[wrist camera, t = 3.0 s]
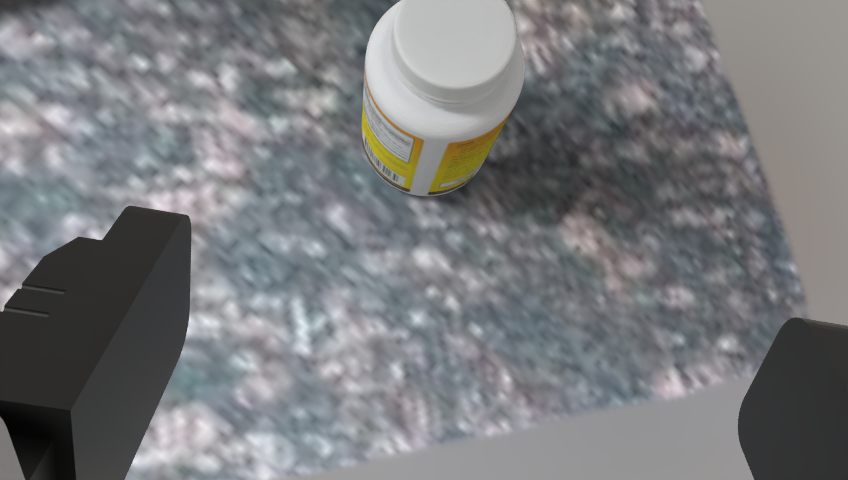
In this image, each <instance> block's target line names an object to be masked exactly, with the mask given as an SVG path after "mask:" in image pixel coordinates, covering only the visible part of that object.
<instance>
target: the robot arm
mask: <svg viewBox="0 0 848 480" xmlns="http://www.w3.org/2000/svg"><path fill="white" fill-rule="evenodd" d="M190 268H191V222H190V218H189V216H188V215H184V214H178V213H172V212H166V211H160V210H154V209H148V208H142V207H136V206H128V207H126V208H125V209H124V210H123V212H122V213H121V215H120V216H119V217H118V219H117V220H116V222H115V223H114V224H113V226H112V227H111V229H110V230H109V231H108V233H107V234H106V236H105V237H104V238H103V240H96V239H90V238H83V237H78V238H76V239H74V240H72V241H71V242H69V243H67V244H65V245H64V246H62V247H60V248H58V249H56V250H55V251H53V252H51V253H49V254H48V255H46V256H44V257H43V258H42V260H41V261H40V262H39V263H38V265H37V266H36V267H35V268H34V269H33V271H32V272H31V273H30V274H29V276H28V277H27V278H26V279H25V281H24V282H23V283H22V288H21V289H17V291H16V292H15V293H14V294H13V296H12V297H11V298H10V299H9V301H8V302H7V303H6V304H5V306H4V311H3V312H0V480H124V479H125V477H126V475H127V472H128V470H129V468H130V466H131V464H132V461H133V459H134V457H135V455H136V452H137V450H138V448H139V446H140V444H141V441H142V439H143V437H144V435H145V432H146V430H147V428H148V426H149V424H150V421H151V419H152V417H153V415H154V413H155V410H156V408H157V406H158V404H159V401H160V399H161V397H162V395H163V393H164V390H165V388H166V386H167V384H168V381H169V379H170V377H171V375H172V373H173V370H174V368H175V366H176V364H177V362H178V359H179V357H180V354H181V351H182V348H183V345H184V341H185V337H186V333H187V327H188V321H189V310H190ZM738 434H739V441H740V444H741V448H742V450H743V453H744V455H745V458H746V460H747V463H748V465H749V467H750V470H751V472H752V475H753V477H754V480H848V326H845V325H839V324H833V323H827V322H821V321H815V320H809V319H803V318H792V319H790V320H788V321H787V322H786V323H785V324H784V325H783V326H782V327H781V329H780V331H779V332H778V334H777V336H776V338H775V340H774V342H773V344H772V346H771V348H770V350H769V351H768V353H767V355H766V357H765V359H764V361H763V363H762V365H761V367H760V369H759V371H758V372H757V374H756V376H755V378H754V380H753V382H752V384H751V386H750V388H749V390H748V392H747V393H746V395H745V397H744V400H743V402H742V405H741V408H740V412H739V419H738Z"/></svg>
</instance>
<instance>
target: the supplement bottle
mask: <svg viewBox="0 0 848 480" xmlns="http://www.w3.org/2000/svg"><path fill="white" fill-rule="evenodd" d="M524 75H525V60H524V53H523V50H522V46H521V43H520V40H519V38H518V36H517V31H516V24H515V20H514V17H513V14H512V12H511V10H510V8H509V6H508V5H507V3H506V2H505V0H401V1H399V2H398V3H396V4H395V5H394V6H393V7H391V8H390V9H389V10H388V11H387V12H386V13H385V14H384V15H383V16H382V17H381V19H380V20H379V22H378V23H377V24H376V26H375V28H374V30H373V32H372V34H371V36H370V39H369V42H368V46H367V51H366V58H365V72H364V92H363V111H362V129H361V133H362V142H363V147H364V151H365V154H366V156H367V159H368V161H369V163H370V164H371V166H372V168H373V169H374V170H375V172H376V173H377V174H378V175H379V176H380V177H381V178H382V179H383V180H384V181H385V182H387V183H388V184H389V185H391V186H392V187H394V188H396V189H398V190H400V191H403V192H405V193H408V194H412V195H418V196H437V195H442V194H446V193H449V192H452V191H454V190H456V189H458V188H460V187H461V186H463V185H464V184H466V183H467V182H468V181H469V180H471V179H472V178H473V177H474V175H475V174H476V173H477V172H478V170H479V169H480V168H481V166H482V164H483V163H484V161H485V159H486V157H487V155H488V153H489V151H490V150H491V148H492V146H493V144H494V142H495V141H496V139H497V137H498V135H499V133H500V131H501V129H502V128H503V126H504V124H505V122H506V120H507V119H508V117H509V115H510V113H511V111H512V110H513V108H514V106H515V104H516V102H517V100H518V97H519V95H520V92H521V89H522V86H523V82H524Z"/></svg>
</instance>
